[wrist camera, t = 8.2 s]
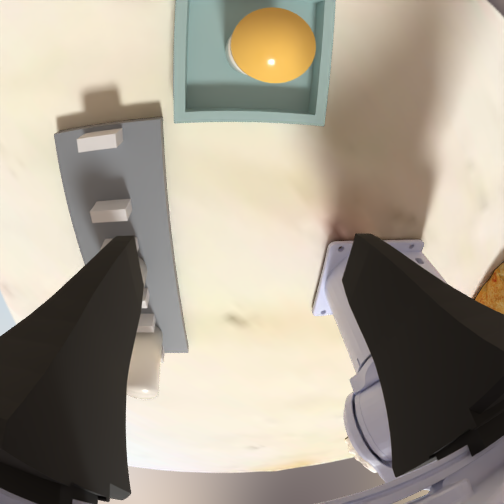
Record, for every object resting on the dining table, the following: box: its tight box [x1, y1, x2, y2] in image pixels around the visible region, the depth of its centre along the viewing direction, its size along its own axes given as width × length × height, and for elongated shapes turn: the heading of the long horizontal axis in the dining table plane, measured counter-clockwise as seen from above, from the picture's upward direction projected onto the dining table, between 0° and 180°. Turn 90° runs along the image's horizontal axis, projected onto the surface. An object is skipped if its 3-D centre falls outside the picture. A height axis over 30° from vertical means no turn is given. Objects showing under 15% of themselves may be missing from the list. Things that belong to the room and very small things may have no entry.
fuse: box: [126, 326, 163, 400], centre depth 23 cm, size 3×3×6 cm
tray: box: [173, 0, 336, 126], centre depth 13 cm, size 8×8×2 cm
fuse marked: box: [225, 7, 316, 83], centre depth 11 cm, size 3×3×6 cm
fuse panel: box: [54, 117, 188, 363], centre depth 20 cm, size 7×21×2 cm, turn 177°
